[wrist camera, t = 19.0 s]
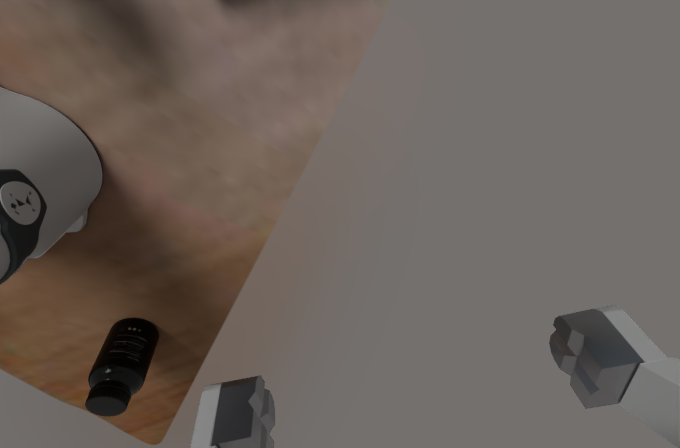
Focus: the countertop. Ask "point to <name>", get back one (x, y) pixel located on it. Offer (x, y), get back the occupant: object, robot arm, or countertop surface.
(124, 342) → the supplement bottle
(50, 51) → the countertop surface
